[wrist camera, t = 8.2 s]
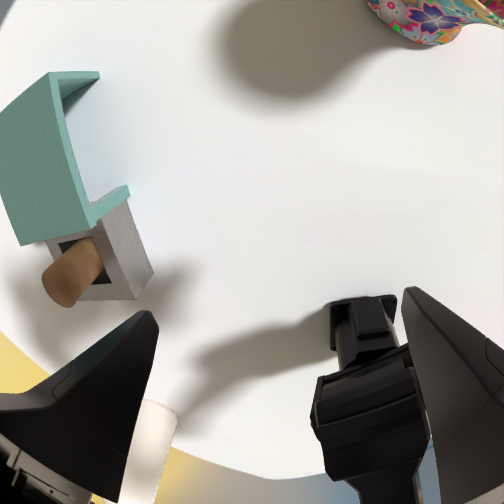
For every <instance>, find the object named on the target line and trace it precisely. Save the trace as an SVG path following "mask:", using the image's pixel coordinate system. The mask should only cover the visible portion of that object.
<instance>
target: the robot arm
mask: <svg viewBox="0 0 504 504" xmlns="http://www.w3.org/2000/svg"><path fill="white" fill-rule="evenodd" d="M391 300H393V301H391ZM334 307H337V308H334ZM396 307H397V298H396V296H395V295H387V296H380V297H372V298H364V299H356V300H348V301H339V302H333V303H331V304H330V349H331V350H332V351H337V354H338V363H339V371H338V372H335V373H332V374H329V375H326V376H324V375H323V376H320V377H318V380H317V385H316V389H315V394H314V399H313V404H312V408H311V413H310V420H311V427H312V428H313V430H314V433H315V435H316V437H317V439H318V440H319V441H320V442H321V446H322V450H323V456H324V465H325V471H326V473H327V474H328V476H329V477H330V478H331V479H332V480H333V481H334V482H336V481H341V480H344V481H346V482H347V483H348V484H349V485H350V486H351V487H352V488H354V489H355V490H356V491H357V492H358V495H359V499H360V504H423V498H422V490H421V484H420V478H419V471H418V469H419V466H420V464H421V462H422V459H423V456H424V454H425V451H426V448H427V446H428V443H429V440H430V436H431V435H432V439H433V445H434V450H435V456H436V458H437V459H436V463H437V470H438V477H439V485H440V494H441V504H464V503H466V502H468V501H471V500H473V499H475V498H476V504H504V350H503V349H502V348H501V347H499V346H498V345H497V344H495V343H494V342H493V341H491V340H490V339H489V338H486V336H485V335H484V334H482V333H481V332H480V331H478V330H477V329H476V328H474V327H473V326H472V325H470V324H469V323H468V322H466V321H465V320H463V319H462V318H461V317H459V316H458V315H457V314H455V313H454V312H452V311H451V310H450V309H448V308H447V307H445V306H444V305H443V304H441V303H440V302H438V301H437V300H436V299H434V298H433V297H431V296H430V295H428V294H427V293H425V292H424V291H422V290H421V289H420V288H418V287H416V286H413V287H407V288H405V289H404V293H403V299H402V306H401V312H402V317H403V321H404V326H405V331H406V335H407V340H408V343H406V344H404V345H402V346H400V345H399V342H398V339H397V336H396V333H395V330H394V327H393V323H394V318H395V312H396ZM158 335H159V326H158V324H157V322H156V320H155V318H154V316H153V314H152V313H151V312H150V311H149V310H141V311H139V312H137V313H136V314H134V315H133V316H132V317H130V318H129V319H128V320H126V321H125V322H123V323H122V324H121V325H119V326H118V327H117V328H115V329H114V330H113V331H111V332H110V333H108V334H107V335H106V336H104V337H103V338H102V339H100V340H99V341H98V342H96V343H95V344H94V345H92V346H91V347H90V348H88V349H87V350H86V351H84V352H83V353H82V354H80V355H79V356H77V357H76V358H75V359H74V360H72V361H71V362H69V363H68V364H67V365H65V366H64V367H63V368H61V369H60V370H59V371H57V372H56V373H54V374H53V375H51V376H50V377H48V378H47V379H45V380H44V381H42V382H41V383H39V384H37V385H36V386H34V387H33V388H31V389H30V390H28V391H26V392H24V393H19V394H9V393H0V504H95V503H93V502H91V498H92V495H93V493H94V494H96V495H98V496H100V497H102V498H104V499H107V500H109V501H111V502H113V503H116V504H118V501H119V496H120V491H121V486H122V481H123V477H124V472H125V468H126V463H127V458H128V454H129V450H130V446H131V442H132V438H133V434H134V430H135V426H136V422H137V418H138V414H139V411H140V407H141V403H142V400H143V396H144V393H145V389H146V386H147V382H148V379H149V375H150V372H151V369H152V365H153V360H154V355H155V350H156V345H157V340H158ZM335 346H336V347H335ZM430 430H431V433H430Z"/></svg>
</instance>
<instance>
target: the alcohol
mask: <svg viewBox="0 0 504 504" xmlns="http://www.w3.org/2000/svg"><path fill="white" fill-rule="evenodd" d="M177 423H178V420H177V417H176V414H175V413H174V412H173V411H172V410H171V409H170V408H168V407H167V406H165V405H163V404H161V403H159V402H156V401H154V400H150V399H146V398H143V400H142V403H141V407H140V411H139V414H138V418H137V422H136V426H135V430H134V434H133V438H132V442H131V446H130V450H129V454H128V458H127V463H126V468H125V472H124V477H123V481H122V486H121V491H120V496H119V501H118V504H153V503H154V500H155V497H156V494H157V490H158V487H159V483H160V480H161V477H162V473H163V470H164V466H165V463H166V460H167V456H168V453H169V449H170V446H171V443H172V440H173V436H174V433H175V430H176V426H177ZM102 499H103V501H104V504H116V503H113V502H111V501H109V500H107V499H104V498H102Z"/></svg>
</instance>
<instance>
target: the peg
mask: <svg viewBox="0 0 504 504" xmlns="http://www.w3.org/2000/svg"><path fill="white" fill-rule="evenodd" d="M104 269H105V267H104V265H103V263H102V261H101V259H100V256H99V254H98V252H97V249H96V247H95V245H94V242H93V240H92V238H91V237H86V238H81V239H79V240H78V241H77V242H76V243H75V244H74V245H73V246H71V247H70V248H69V249H68V250H67V251H66V252H65V253H64V254H63V255H61V256H60V257H59V258H58V259H57V260H56V261H55V262H54V263H53V264H52V265H51V266H50V267H49V268H48V269H47V270H46V271H44V272H43V274H42V283H43V286H44V288H45V290H46V292H47V293H48V295H49V296H50V297H51V298H52V299H53V300H54V301H55V302H56V303H57V304H59V305H61V306H63V307H66V308H70V307H72V306H73V305H74V304H75V303H76V301H77V300H78V299H79V298H80V296H81V295H82V294H83V293H84V292H85V290H86V289H87V288H88V287H89V286H90V285H91V283H92V282H93V281H94V280H95V279H96V278H97V276H98V275H99V274H100V273H101V272H102V271H103V270H104Z"/></svg>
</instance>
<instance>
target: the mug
mask: <svg viewBox="0 0 504 504" xmlns="http://www.w3.org/2000/svg"><path fill="white" fill-rule="evenodd" d="M366 2H367V3H368V5H369V6H370V8H371V9H372V10H373V12H374V13H375V14H376V15H377V16H378V17H379V18H380V19H381V20H382V21H383V22H384V23H385V24H386V25H388V26H389V27H390V28H392V29H393V30H394V31H396V32H397V33H399V34H401V35H402V36H404V37H406V38H408V39H410V40H413V41H415V42H419V43H422V44H427V45H442V44H446V43H449V42H451V41H452V40H454V39H455V38H456V37H457V36H458V34H459V33H460V31H461V28H462V27H463V26H465V25H468V24H473V23H482V24H488V25H493V26H496V27H499V28H501V29H504V0H366Z"/></svg>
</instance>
